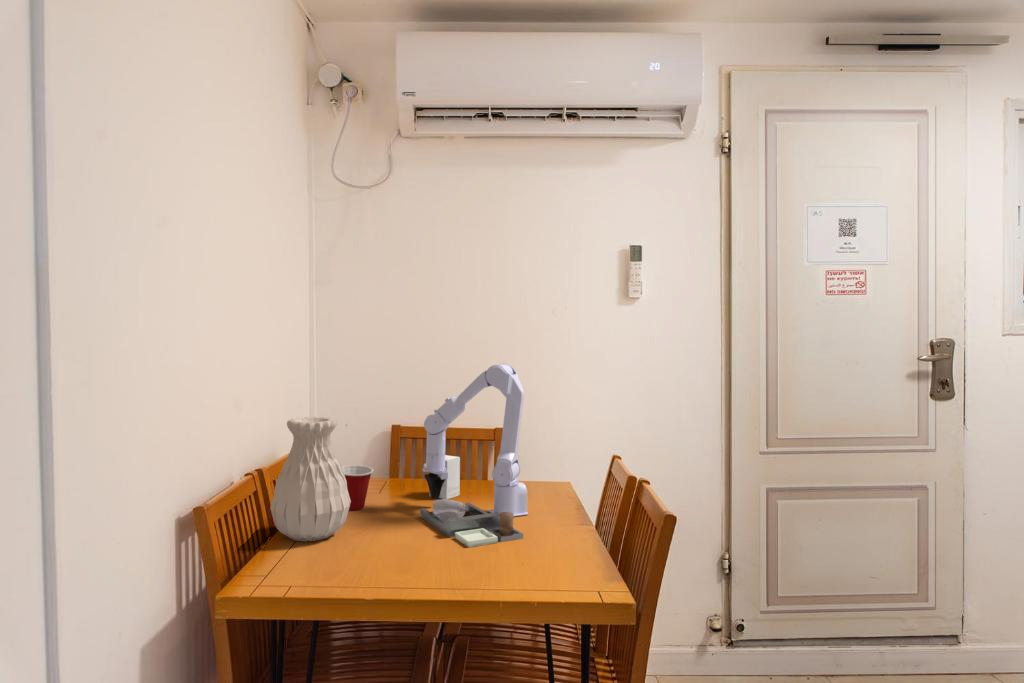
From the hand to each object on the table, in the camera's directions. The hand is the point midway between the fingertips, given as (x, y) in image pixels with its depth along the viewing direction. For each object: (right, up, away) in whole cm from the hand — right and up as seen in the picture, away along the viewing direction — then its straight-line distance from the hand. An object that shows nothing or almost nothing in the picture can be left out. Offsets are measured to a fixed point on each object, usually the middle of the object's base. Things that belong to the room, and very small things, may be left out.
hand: (434, 498), depth 199 cm
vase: (-29, -3, -28) cm, 40 cm away
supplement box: (+1, -3, +14) cm, 14 cm away
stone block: (+5, -4, -10) cm, 11 cm away
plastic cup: (-24, -3, -2) cm, 24 cm away
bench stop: (+9, -3, -16) cm, 18 cm away
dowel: (+22, -4, -27) cm, 35 cm away
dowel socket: (+22, -4, -27) cm, 35 cm away
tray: (+14, -4, -30) cm, 34 cm away
